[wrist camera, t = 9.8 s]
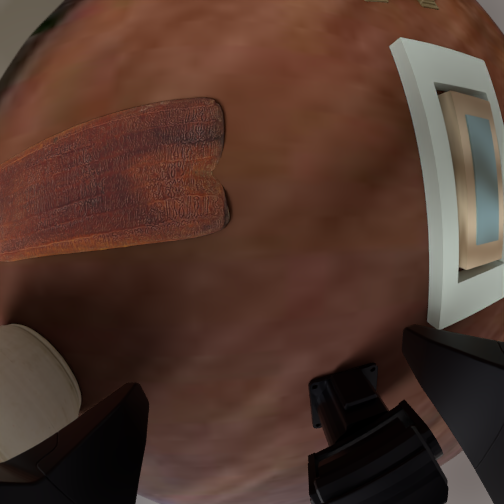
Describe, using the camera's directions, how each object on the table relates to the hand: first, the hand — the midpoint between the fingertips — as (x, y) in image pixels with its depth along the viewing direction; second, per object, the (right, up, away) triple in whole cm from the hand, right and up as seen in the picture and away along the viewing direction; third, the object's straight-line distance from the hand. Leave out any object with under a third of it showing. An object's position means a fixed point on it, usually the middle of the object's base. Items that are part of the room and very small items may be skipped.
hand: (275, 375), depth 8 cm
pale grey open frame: (+19, +10, +11) cm, 25 cm away
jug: (-24, -9, +13) cm, 29 cm away
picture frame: (+19, +11, +12) cm, 25 cm away
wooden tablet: (-16, +9, +10) cm, 21 cm away
